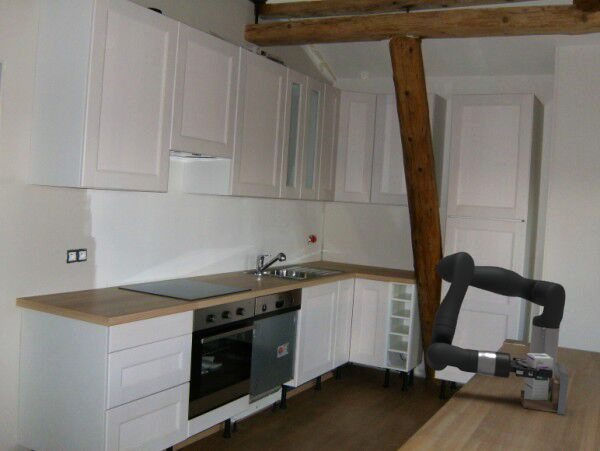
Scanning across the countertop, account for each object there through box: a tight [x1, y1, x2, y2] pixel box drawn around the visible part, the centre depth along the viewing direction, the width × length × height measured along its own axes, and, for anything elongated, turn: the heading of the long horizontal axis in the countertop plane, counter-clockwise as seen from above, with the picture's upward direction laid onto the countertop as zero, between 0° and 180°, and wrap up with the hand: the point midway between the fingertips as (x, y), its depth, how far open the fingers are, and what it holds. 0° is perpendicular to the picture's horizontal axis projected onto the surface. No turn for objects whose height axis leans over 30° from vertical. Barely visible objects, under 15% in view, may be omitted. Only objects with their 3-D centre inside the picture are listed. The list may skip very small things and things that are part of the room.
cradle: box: [519, 375, 560, 414], centre depth 192 cm, size 10×9×8 cm
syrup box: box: [524, 352, 553, 402], centre depth 192 cm, size 6×6×14 cm
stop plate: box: [554, 362, 569, 416], centre depth 191 cm, size 12×2×12 cm, turn 166°
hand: (550, 371), depth 191 cm, fingers open, 7 cm apart
